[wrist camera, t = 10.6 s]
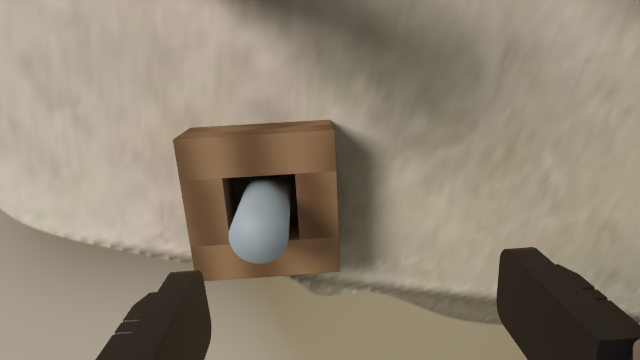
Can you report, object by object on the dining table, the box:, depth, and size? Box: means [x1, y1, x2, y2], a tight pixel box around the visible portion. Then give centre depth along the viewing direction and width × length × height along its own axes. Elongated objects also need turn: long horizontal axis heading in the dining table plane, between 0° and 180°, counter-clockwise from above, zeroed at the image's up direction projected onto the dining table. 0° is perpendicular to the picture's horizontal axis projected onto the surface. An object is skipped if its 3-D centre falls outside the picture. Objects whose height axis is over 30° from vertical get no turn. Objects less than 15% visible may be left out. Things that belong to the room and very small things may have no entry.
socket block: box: [173, 120, 340, 281], centre depth 34 cm, size 12×12×5 cm
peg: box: [229, 174, 291, 264], centre depth 32 cm, size 4×4×10 cm
